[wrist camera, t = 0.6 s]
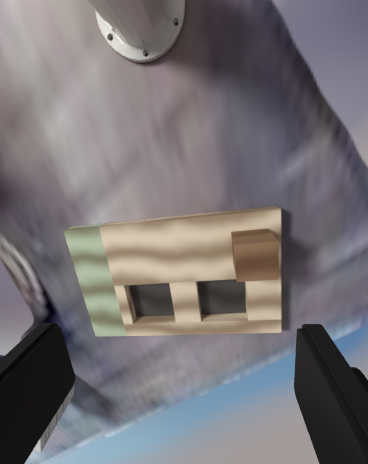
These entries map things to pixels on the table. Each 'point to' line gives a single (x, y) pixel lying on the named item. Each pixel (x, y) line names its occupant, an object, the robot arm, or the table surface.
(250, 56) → the table surface
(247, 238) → the walnut cube
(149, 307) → the board
